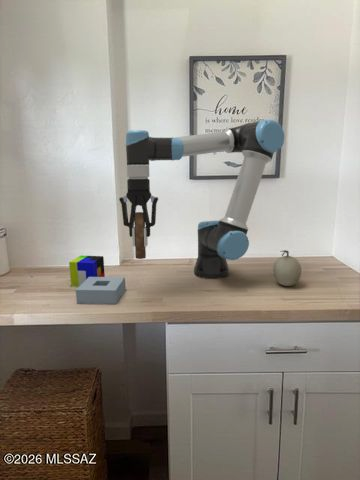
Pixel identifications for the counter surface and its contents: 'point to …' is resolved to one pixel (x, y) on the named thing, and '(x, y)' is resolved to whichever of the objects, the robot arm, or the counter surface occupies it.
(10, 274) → the counter surface
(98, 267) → the puzzle toy
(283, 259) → the fruit
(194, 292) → the counter surface
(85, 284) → the socket block
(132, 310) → the counter surface
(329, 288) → the counter surface
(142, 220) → the dowel
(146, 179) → the robot arm
